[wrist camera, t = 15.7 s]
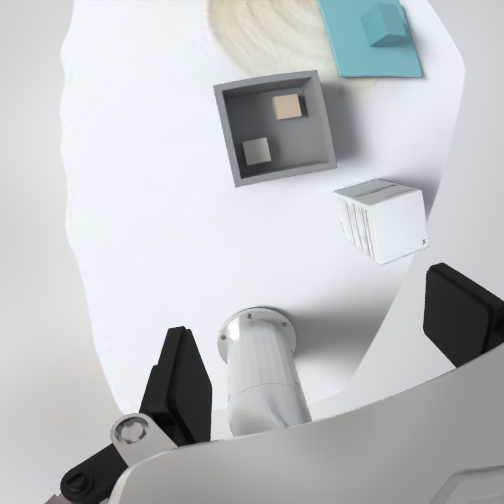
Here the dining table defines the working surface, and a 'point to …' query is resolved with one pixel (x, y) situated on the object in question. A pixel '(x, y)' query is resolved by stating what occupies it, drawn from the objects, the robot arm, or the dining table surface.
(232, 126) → the tub
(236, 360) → the robot arm
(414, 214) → the supplement box
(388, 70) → the lid
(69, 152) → the dining table surface
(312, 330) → the dining table surface
